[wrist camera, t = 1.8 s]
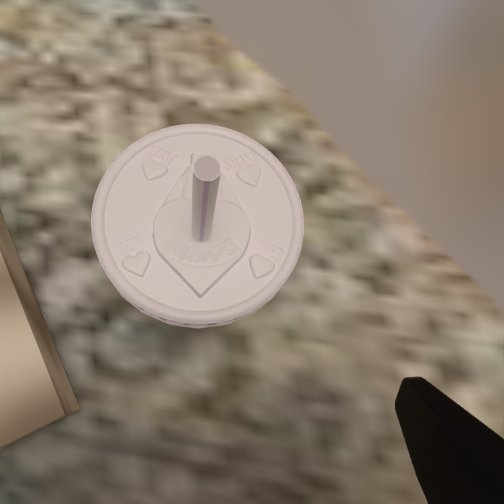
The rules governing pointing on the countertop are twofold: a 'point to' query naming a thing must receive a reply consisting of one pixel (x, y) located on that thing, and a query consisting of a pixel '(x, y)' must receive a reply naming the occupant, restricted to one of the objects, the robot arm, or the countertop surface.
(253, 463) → the countertop surface
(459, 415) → the robot arm
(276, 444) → the countertop surface
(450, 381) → the countertop surface
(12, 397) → the plinth
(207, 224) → the smoothie
